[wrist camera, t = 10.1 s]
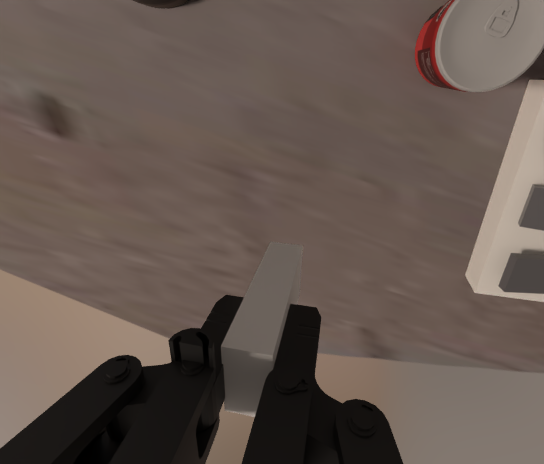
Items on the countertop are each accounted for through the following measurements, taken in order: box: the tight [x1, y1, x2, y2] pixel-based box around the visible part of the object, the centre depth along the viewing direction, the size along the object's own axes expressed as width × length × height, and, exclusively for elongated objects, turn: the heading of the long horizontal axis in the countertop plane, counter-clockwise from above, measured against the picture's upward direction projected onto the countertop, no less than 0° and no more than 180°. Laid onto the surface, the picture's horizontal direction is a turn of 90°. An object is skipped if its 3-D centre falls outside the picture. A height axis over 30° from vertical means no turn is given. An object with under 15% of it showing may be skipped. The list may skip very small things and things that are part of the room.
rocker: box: [498, 253, 544, 294], centre depth 37 cm, size 4×7×1 cm, turn 89°
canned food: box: [415, 0, 544, 92], centre depth 30 cm, size 8×8×11 cm
